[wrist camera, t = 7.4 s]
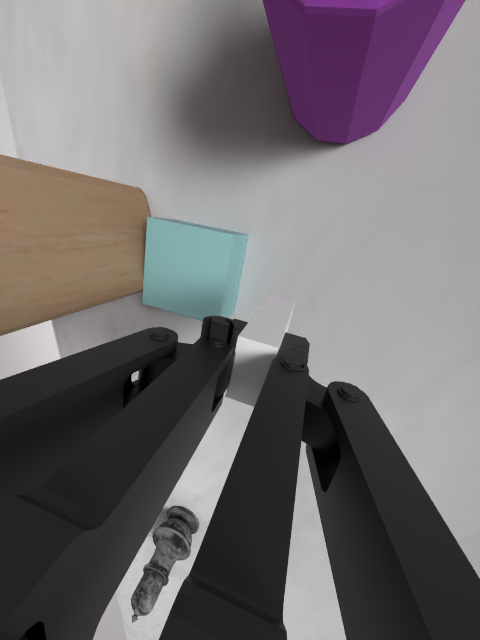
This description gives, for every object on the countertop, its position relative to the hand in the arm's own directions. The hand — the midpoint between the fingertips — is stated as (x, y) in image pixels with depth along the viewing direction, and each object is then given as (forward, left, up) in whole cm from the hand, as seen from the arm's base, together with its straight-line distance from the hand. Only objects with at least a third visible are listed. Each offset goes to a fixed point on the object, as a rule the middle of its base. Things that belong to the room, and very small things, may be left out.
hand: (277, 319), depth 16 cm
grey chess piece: (+39, -7, -12) cm, 41 cm away
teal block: (0, -10, -12) cm, 15 cm away
